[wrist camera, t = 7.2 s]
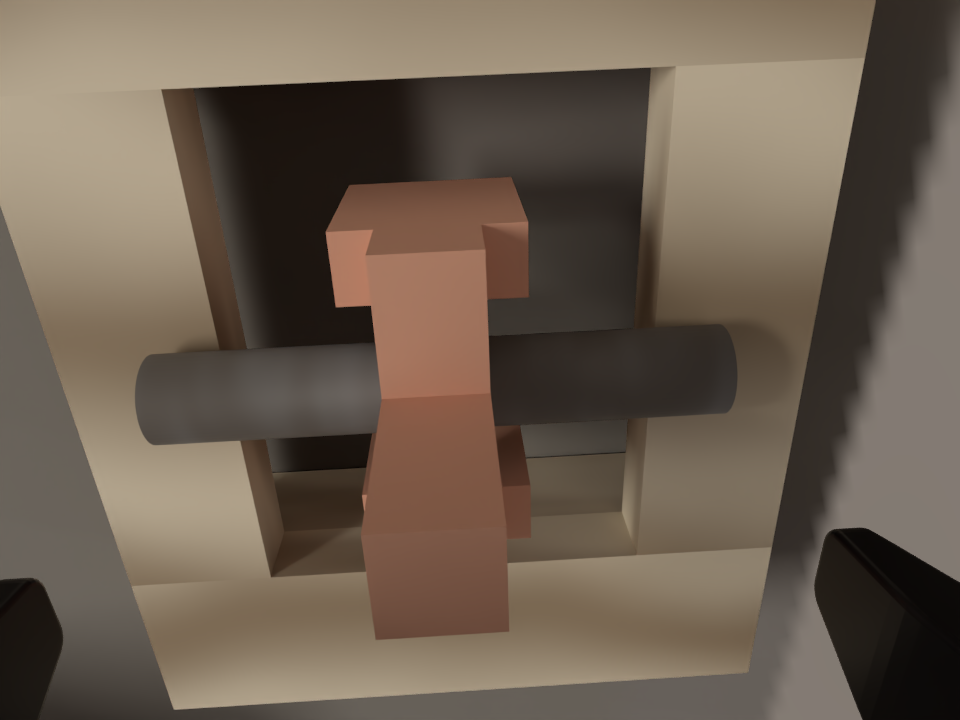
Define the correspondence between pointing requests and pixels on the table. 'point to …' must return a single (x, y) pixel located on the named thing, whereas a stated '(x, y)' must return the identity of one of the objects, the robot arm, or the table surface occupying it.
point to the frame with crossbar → (353, 367)
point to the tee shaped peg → (436, 398)
